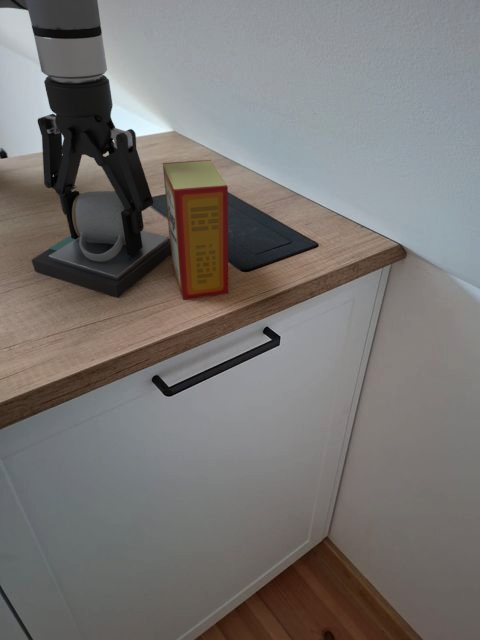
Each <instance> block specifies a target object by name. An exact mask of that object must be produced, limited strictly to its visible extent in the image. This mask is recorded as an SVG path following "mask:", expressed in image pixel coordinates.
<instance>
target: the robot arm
mask: <svg viewBox="0 0 480 640" xmlns="http://www.w3.org/2000/svg"><path fill="white" fill-rule="evenodd" d="M0 9H15V10H23V11H28V16H29V21H30V24H31V29H32V33H33V37H34V41H35V47H36V51H37V56H38V61H39V66H40V71H41V73H42V74H44V75H46V77H45V80H44V82H43V83H44V87H45V92H46V97H47V101H48V106H49V109H50V111H52V113H51V114H48V115H45V116H41V117H39V118H37V125H38V128H39V131H40V135H41V145H42V147H41V148H42V167H43V168H42V170H43V184H44V186H45V188H46V189H49V190H50V189H52V190H54V191H55V193H56V195H58V197H59V201H60V206H61V209H62V212H63V215H65V216H66V220H67V224H68V229H69V234H70V235H71V238H72V239H75V240H76V239H77V238H79V236H78V235H77V233H76V231H75V229H74V225H73V220H72V208H73V203H74V200H75V198H76V197H77V196H78V195H79V194H80V191H78V190H74V189H77V186H76V180H77V176H78V172H79V169H80V164H81V160H82V157H83V156H87V157H89V158H91V159H94V161H95V163H96V164H97V166H99V167H101V168H102V170H103V173H104V174H105V176H106V177H107V179H108V180H109V183H110V184H111V187H112V188H113V191H115V192H116V194H117V195H118V197H119V199H120V201H121V203H122V204H123V206H124V208H125V210H124V211H122V212H121V216H122V223H123V229H124V235H125V242H126V248H127V255H131V256H132V255H133V254H135V253H136V252H138V251H139V250H140V249H142V248H143V247H142V239H141V231H144V219H143V213H142V212H144V211H145V210H146V209H148V208H151V206H153V205H154V199H153V196H152V193H151V189H150V187H149V184H148V181H147V177H146V174H145V171H144V167H143V165H142V161H141V158H140V155H139V152H138V149H137V135H136V132H135V131H134V129H132V128H129V129H127V130H124V129H120V128H118V127H116V125H115V124H114V122H113V119H112V110H113V107H114V105H113V99H112V92H111V85H110V79H109V78H108V77H107V76H106V75H105V73H106V72H107V71H108V66H107V59H106V53H105V52H106V51H105V46H104V39H103V32H102V26H101V25H102V23H101V17H100V9H99V1H98V0H0ZM107 152H108V155H105V154H107ZM131 200H132V202H131Z"/></svg>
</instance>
